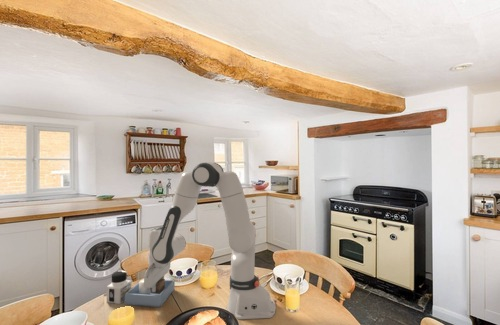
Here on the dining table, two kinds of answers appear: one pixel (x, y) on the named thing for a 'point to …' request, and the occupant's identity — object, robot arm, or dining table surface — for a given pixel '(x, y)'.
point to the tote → (149, 296)
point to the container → (118, 287)
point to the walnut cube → (159, 287)
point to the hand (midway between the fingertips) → (157, 287)
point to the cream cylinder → (143, 288)
